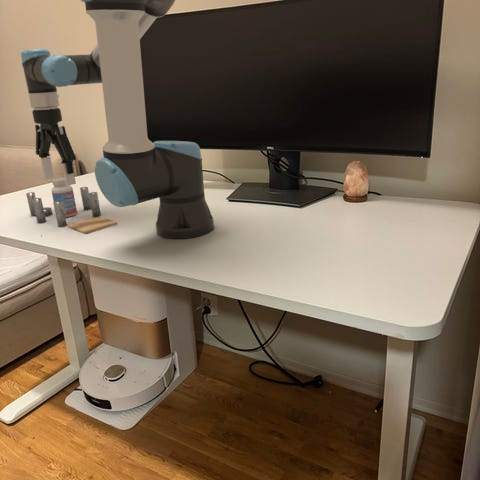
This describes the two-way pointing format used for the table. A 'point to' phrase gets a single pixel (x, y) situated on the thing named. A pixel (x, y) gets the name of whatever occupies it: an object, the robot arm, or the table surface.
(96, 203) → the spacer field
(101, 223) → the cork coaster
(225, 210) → the table surface
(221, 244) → the table surface
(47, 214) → the steel nut
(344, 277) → the table surface
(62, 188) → the pill bottle
